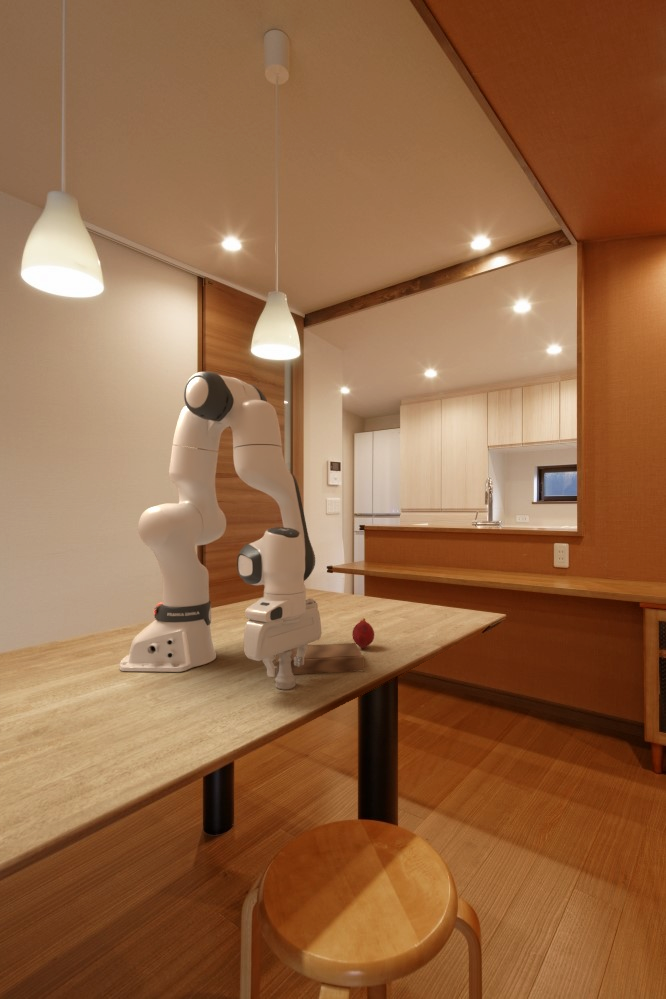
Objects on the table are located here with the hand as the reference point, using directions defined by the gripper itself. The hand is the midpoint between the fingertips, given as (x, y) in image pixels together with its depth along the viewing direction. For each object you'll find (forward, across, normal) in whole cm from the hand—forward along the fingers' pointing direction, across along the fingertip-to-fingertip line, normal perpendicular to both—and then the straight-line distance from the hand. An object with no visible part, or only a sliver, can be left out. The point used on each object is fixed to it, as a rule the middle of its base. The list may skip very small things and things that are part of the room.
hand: (286, 670), depth 104 cm
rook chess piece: (+4, 0, 0) cm, 4 cm away
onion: (+4, -32, -2) cm, 32 cm away
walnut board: (+3, -15, -4) cm, 15 cm away
